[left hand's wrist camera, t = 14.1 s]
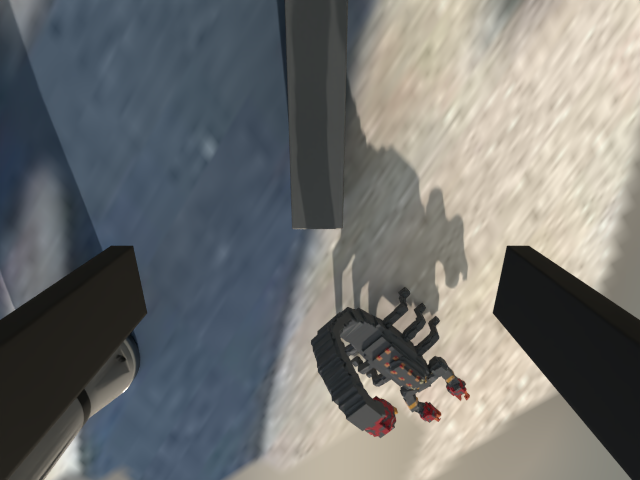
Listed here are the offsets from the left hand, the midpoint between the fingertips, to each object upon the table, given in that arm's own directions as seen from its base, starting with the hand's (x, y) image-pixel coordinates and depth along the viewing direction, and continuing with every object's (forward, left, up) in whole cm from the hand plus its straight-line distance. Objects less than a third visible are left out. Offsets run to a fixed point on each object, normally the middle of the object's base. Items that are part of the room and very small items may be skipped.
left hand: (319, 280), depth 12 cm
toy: (-15, -23, -29) cm, 40 cm away
